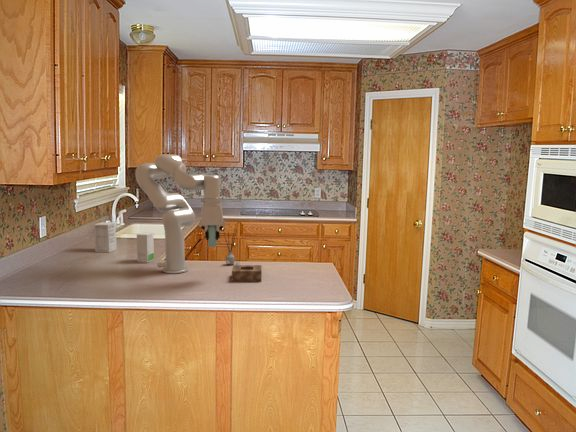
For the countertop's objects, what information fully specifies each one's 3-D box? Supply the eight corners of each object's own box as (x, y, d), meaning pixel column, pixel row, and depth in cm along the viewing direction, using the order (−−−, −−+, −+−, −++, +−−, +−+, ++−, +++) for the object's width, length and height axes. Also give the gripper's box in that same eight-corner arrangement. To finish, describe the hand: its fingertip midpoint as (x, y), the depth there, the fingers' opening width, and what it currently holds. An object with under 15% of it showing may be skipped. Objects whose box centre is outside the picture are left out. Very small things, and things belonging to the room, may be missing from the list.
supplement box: (117, 249, 311) (116, 222, 309) (109, 252, 302) (108, 224, 300) (102, 249, 312) (101, 221, 310) (94, 252, 303) (93, 224, 301)
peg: (207, 246, 242) (207, 225, 241) (208, 245, 246) (208, 224, 245) (216, 246, 242) (216, 225, 241) (217, 245, 246) (216, 224, 245)
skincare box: (147, 263, 276) (146, 234, 274) (136, 262, 278) (135, 234, 275) (154, 259, 284) (154, 232, 282) (143, 259, 286) (143, 231, 284)
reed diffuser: (220, 264, 274) (220, 228, 271) (226, 262, 280) (226, 226, 278) (237, 266, 270) (237, 229, 268) (243, 263, 277) (243, 227, 274)
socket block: (231, 281, 241) (231, 271, 240) (233, 275, 253) (233, 265, 252) (261, 281, 242) (261, 271, 241) (261, 275, 253) (261, 265, 253)
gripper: (193, 202, 237) (193, 240, 240) (229, 202, 238) (229, 240, 240) (195, 200, 245) (195, 238, 247) (230, 200, 245) (230, 238, 248)
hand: (212, 239), depth 244 cm, fingers closed on peg, 4 cm apart
